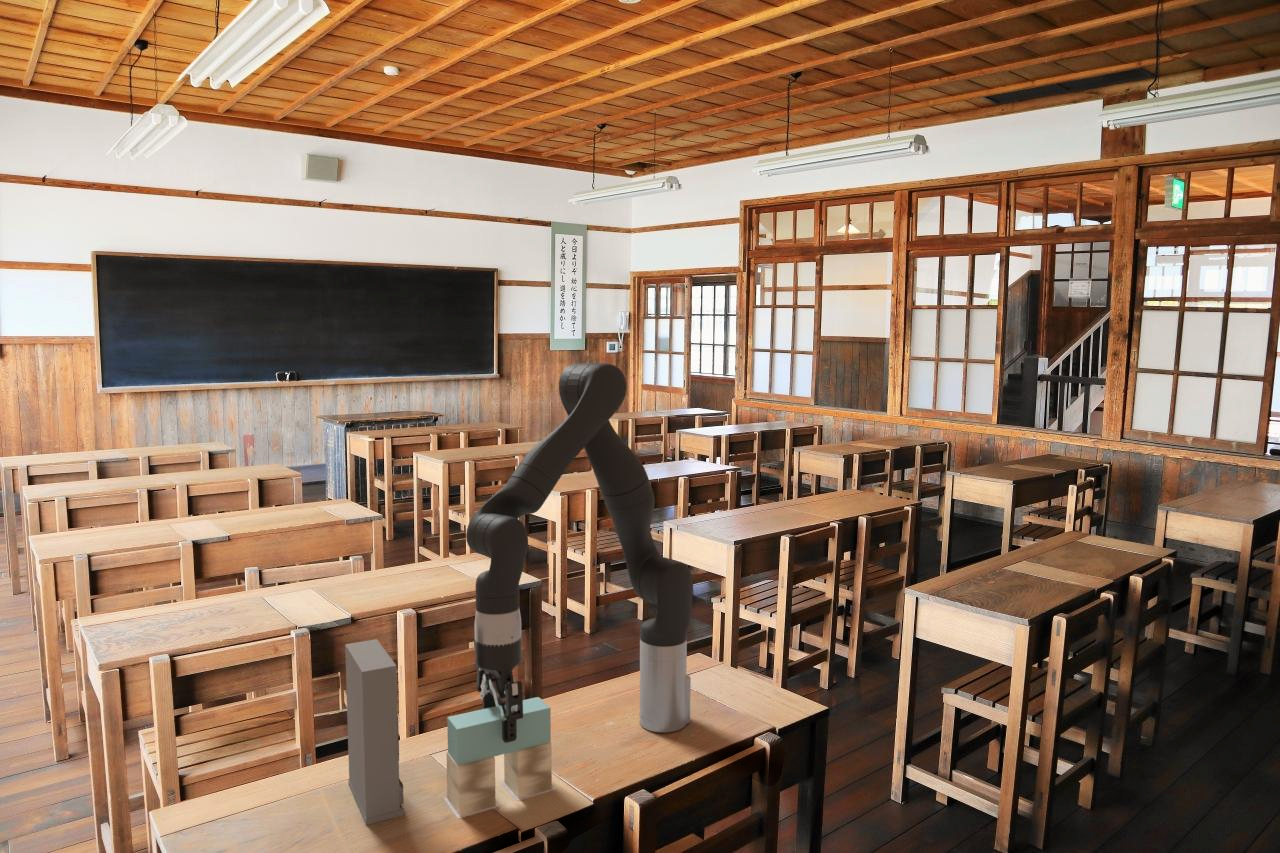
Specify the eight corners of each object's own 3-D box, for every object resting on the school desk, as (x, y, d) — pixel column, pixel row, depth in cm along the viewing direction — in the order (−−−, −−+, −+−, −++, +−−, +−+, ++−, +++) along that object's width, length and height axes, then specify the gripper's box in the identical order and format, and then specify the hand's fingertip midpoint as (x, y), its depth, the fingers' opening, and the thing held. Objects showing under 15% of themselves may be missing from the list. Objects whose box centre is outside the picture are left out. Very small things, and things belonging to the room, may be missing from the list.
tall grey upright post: (405, 817, 133) (402, 665, 131) (365, 828, 130) (361, 672, 128) (385, 778, 145) (381, 638, 143) (348, 787, 142) (344, 644, 140)
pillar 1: (482, 788, 141) (481, 743, 140) (495, 805, 136) (494, 758, 135) (447, 798, 138) (446, 751, 137) (459, 816, 132) (458, 767, 132)
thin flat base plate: (542, 768, 149) (542, 765, 149) (567, 793, 140) (567, 790, 140) (431, 799, 138) (431, 796, 138) (451, 829, 130) (451, 826, 130)
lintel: (538, 730, 145) (538, 696, 144) (550, 742, 140) (550, 707, 140) (447, 752, 137) (447, 717, 136) (457, 765, 132) (456, 729, 132)
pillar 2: (536, 773, 146) (536, 729, 145) (551, 788, 141) (551, 743, 140) (504, 782, 143) (503, 737, 142) (518, 798, 138) (518, 752, 137)
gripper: (537, 644, 132) (538, 742, 134) (503, 619, 144) (504, 709, 146) (492, 653, 128) (493, 754, 130) (461, 626, 141) (462, 719, 142)
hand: (499, 730), depth 138 cm, fingers open, 8 cm apart
